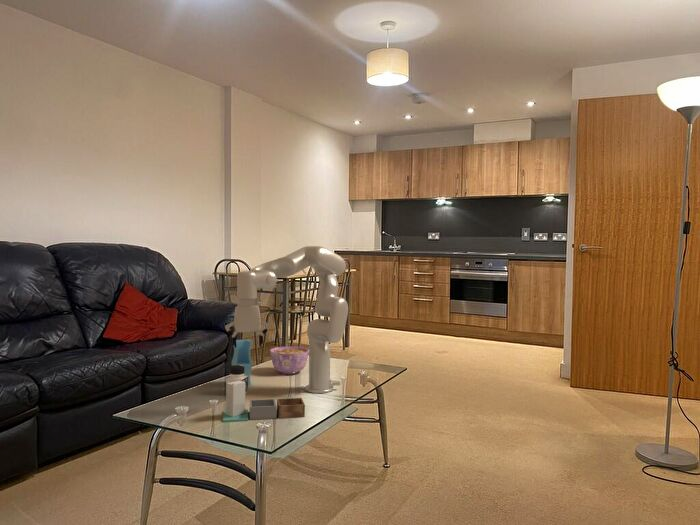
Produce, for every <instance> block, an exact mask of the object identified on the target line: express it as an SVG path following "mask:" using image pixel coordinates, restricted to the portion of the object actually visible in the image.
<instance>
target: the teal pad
mask: <svg viewBox="0 0 700 525" xmlns="http://www.w3.org/2000/svg"><path fill="white" fill-rule="evenodd" d="M248 413H249V412H248V409H246V408H245V413H244V414H241V415H238V416H234V417H231V416H228V415H226V409H225V410H223V413H222V422H223V423H233V422H248V421H249V414H248Z"/></svg>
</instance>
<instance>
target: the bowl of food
mask: <svg viewBox="0 0 700 525" xmlns="http://www.w3.org/2000/svg"><path fill="white" fill-rule="evenodd" d="M269 354H270V357H271V363H272V365H273V367H274V369H275V371H278V372H280V373H281V374H283V375H296V374H297V373H299V372H301V371H302V370H304V368H305V367H306V365H307V361H308V359H309V348H307V347H303V346H277V347H272V348H271V349H270V350H269ZM298 371H299V372H298ZM293 372H295V373H293Z"/></svg>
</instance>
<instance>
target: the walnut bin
mask: <svg viewBox="0 0 700 525" xmlns="http://www.w3.org/2000/svg"><path fill="white" fill-rule="evenodd" d="M276 406H277V412H276V414H277V416H278V419H286V418H288V419H289V418H305V417H306V416H305V415H306V413H305V412H306V405H305V402H304V399H303V397H292V398H291V397H290V398H288V397H287V398H286V397H285V398H276Z"/></svg>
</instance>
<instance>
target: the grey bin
mask: <svg viewBox="0 0 700 525" xmlns="http://www.w3.org/2000/svg"><path fill="white" fill-rule="evenodd" d="M248 413H249V419H250V420H252V421H253V420H268V419H271V420H272V419H277V401H276V399H275V398H267V399H266V398H265V399H262V398H261V399H249V412H248Z"/></svg>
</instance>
